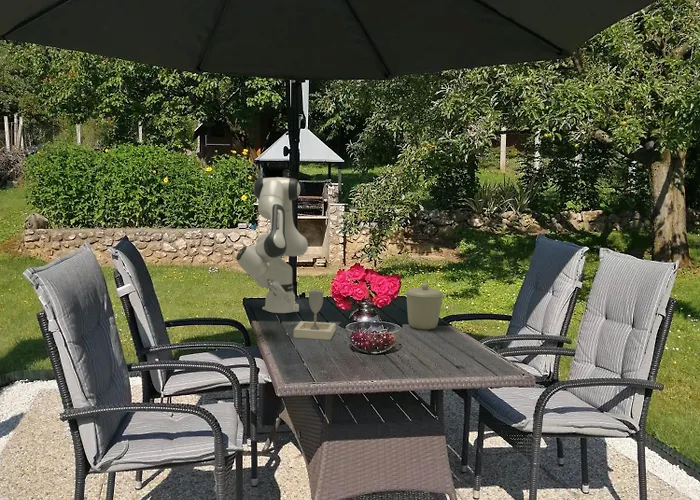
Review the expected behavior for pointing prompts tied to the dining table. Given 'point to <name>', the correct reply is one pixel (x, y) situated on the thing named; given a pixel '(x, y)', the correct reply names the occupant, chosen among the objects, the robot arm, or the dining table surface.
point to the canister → (423, 307)
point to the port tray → (305, 330)
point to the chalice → (315, 304)
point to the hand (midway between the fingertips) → (288, 300)
